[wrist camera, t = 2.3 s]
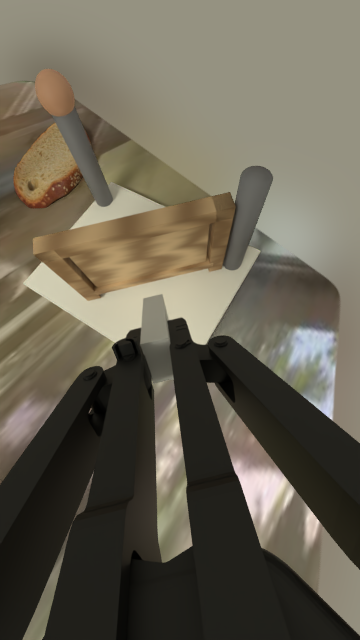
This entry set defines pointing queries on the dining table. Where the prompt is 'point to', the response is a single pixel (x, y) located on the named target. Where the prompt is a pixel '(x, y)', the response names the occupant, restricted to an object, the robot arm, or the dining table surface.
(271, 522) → the dining table surface
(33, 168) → the slice of bread
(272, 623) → the robot arm
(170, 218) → the gate
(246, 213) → the gate frame
